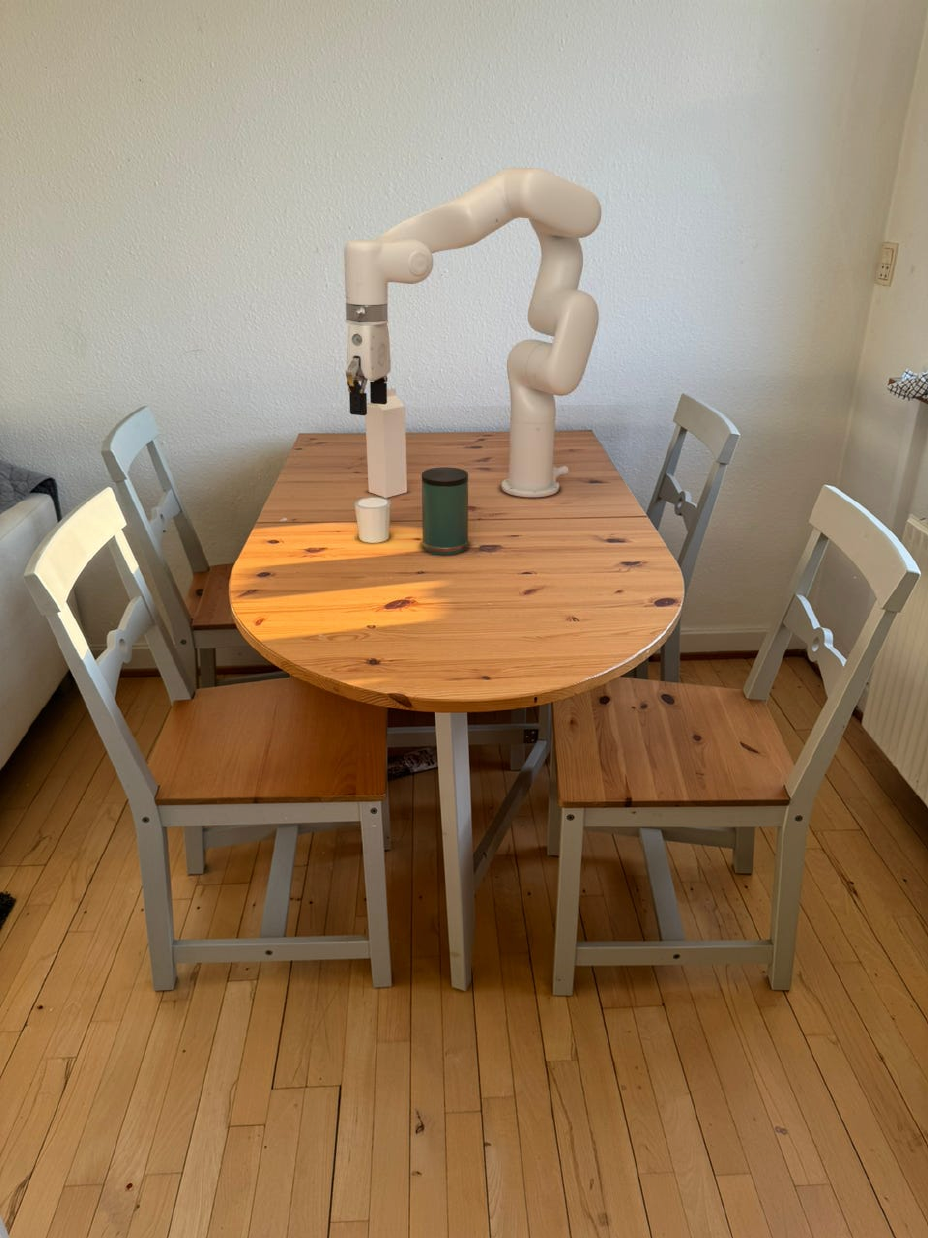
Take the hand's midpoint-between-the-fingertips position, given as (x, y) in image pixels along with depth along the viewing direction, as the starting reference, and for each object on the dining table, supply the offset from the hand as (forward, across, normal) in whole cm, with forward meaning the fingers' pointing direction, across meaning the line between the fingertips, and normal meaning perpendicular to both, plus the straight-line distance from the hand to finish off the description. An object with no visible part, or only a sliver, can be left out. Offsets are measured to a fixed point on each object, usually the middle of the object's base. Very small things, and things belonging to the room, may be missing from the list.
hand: (368, 408), depth 177 cm
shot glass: (+23, -7, -4) cm, 24 cm away
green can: (+23, -7, -18) cm, 30 cm away
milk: (+23, +19, +4) cm, 30 cm away
